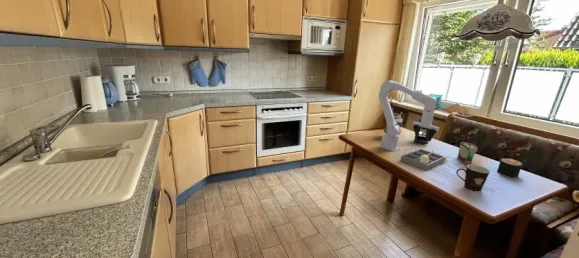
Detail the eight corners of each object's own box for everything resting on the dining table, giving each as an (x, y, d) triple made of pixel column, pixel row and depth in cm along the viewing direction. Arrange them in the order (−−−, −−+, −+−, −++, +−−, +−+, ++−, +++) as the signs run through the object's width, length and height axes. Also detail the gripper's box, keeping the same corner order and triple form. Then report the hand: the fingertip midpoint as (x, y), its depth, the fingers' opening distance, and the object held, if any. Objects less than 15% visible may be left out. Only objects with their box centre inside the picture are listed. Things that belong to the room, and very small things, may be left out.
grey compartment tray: (400, 160, 142) (401, 155, 141) (419, 153, 154) (420, 148, 153) (426, 170, 131) (427, 165, 130) (444, 161, 143) (445, 156, 142)
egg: (417, 164, 136) (419, 154, 134) (421, 162, 139) (423, 153, 137) (425, 167, 133) (427, 157, 131) (429, 165, 135) (431, 155, 134)
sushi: (493, 171, 134) (497, 157, 131) (505, 170, 136) (509, 156, 133) (509, 178, 126) (514, 164, 124) (521, 177, 128) (526, 163, 126)
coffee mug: (484, 188, 115) (490, 168, 112) (483, 195, 109) (489, 174, 106) (455, 179, 122) (460, 160, 119) (452, 185, 116) (457, 166, 113)
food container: (477, 166, 139) (482, 149, 136) (465, 165, 140) (470, 148, 137) (467, 158, 151) (471, 142, 148) (456, 156, 152) (460, 141, 149)
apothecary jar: (379, 137, 184) (382, 113, 179) (388, 134, 191) (391, 111, 186) (393, 141, 174) (398, 117, 169) (403, 139, 181) (407, 115, 176)
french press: (410, 139, 181) (416, 109, 174) (421, 139, 182) (427, 109, 176) (420, 145, 169) (427, 112, 163) (432, 145, 171) (440, 112, 164)
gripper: (443, 119, 141) (438, 141, 145) (418, 114, 153) (414, 134, 157) (437, 120, 137) (432, 143, 141) (412, 115, 149) (408, 136, 153)
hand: (422, 139), depth 149 cm, fingers open, 7 cm apart
